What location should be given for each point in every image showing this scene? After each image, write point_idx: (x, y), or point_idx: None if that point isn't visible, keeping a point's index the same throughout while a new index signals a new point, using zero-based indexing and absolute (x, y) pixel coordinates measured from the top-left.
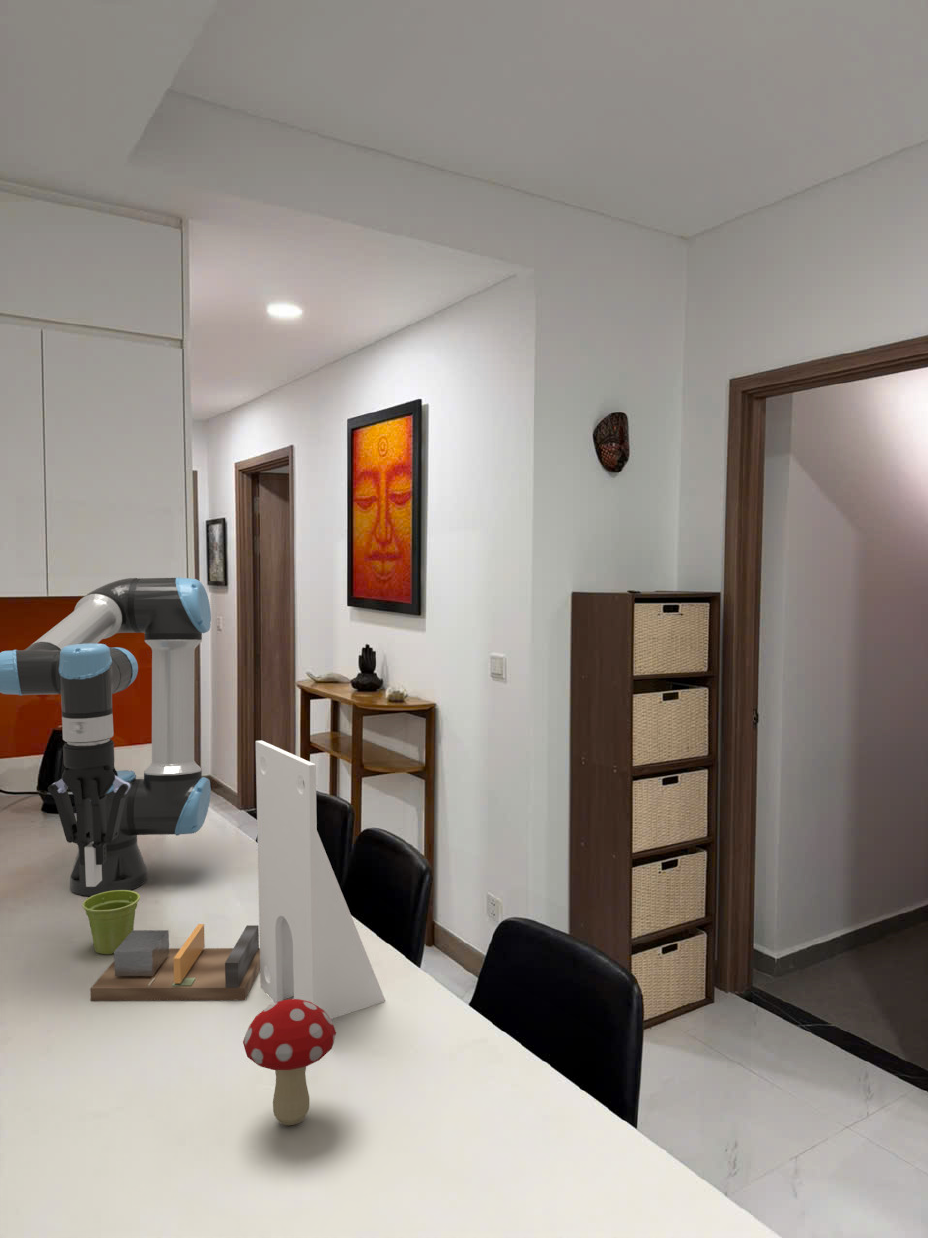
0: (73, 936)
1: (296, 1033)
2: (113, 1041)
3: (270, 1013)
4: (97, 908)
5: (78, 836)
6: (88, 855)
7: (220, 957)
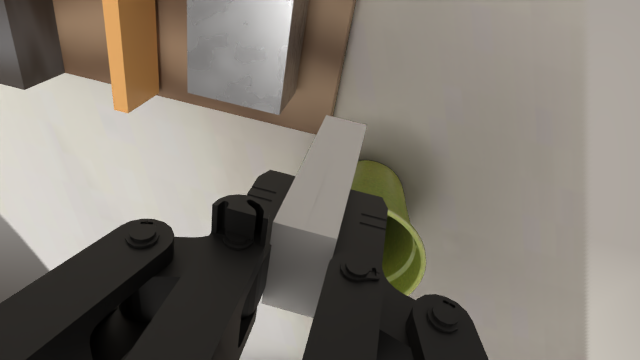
0: (454, 259)
1: None
2: None
3: None
4: (395, 269)
5: (369, 316)
6: (323, 201)
7: (102, 37)
